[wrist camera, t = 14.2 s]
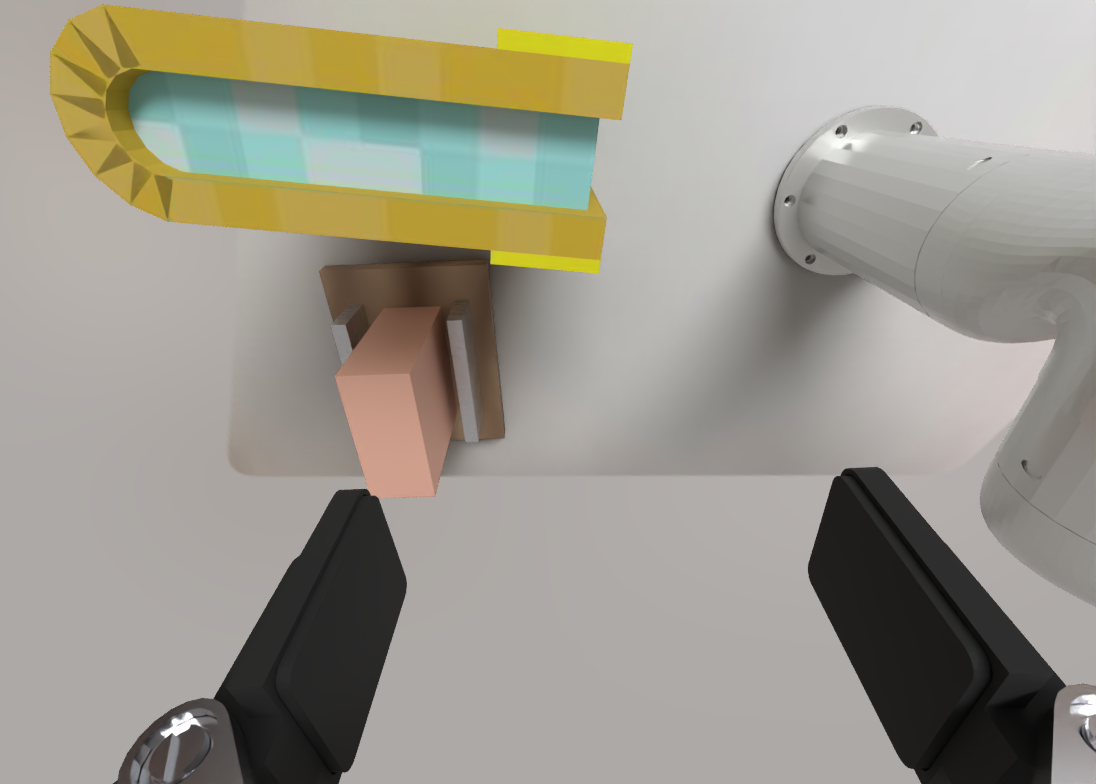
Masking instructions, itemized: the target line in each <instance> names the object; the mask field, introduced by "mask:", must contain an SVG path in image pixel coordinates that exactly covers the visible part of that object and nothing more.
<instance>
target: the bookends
mask: <svg viewBox="0 0 1096 784" xmlns="http://www.w3.org/2000/svg"><path fill="white" fill-rule="evenodd" d="M330 326H331V330H332V333H333V336H334V340H335V343H336V347H337V350H338V354H339V357H340V360H341V364H342V365H343V364H344V363H345V361H346V360H347V358H348V357H349V356H350V354H351V353H352V351H353V350H354V349H355V347H356V346H357V345H358V343H359V342H360V340H361V339H362V338H363V336H364V335H365V334H366V332H367V331H368V329H369V326H368V322H367V318H366V314H365V310H364V306H363V304H349V305H348V306H347V307H346V309H345V310H344V311H343V312H342V313H341V314H340V315H339V316H338V317H337V319H336V320H335V321H334V322H333V323H332V324H331V325H330ZM447 328H448V334H449V340H450V347H451V353H452V359H453V366H454V372H455V379H456V385H457V391H458V398H459V404H460V411H461V417H462V423H463V430H464V436H465V442H479V437H480V431H481V426H482V420H483V407H482V399H481V391H480V383H479V375H478V368H477V360H476V352H475V344H474V336H473V328H472V321H471V313H470V305H469V300H455V301H454V304H453V306H452V309H451V311H450V314H449V316H448V318H447Z"/></svg>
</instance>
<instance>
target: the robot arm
mask: <svg viewBox="0 0 1096 784" xmlns="http://www.w3.org/2000/svg"><path fill="white" fill-rule="evenodd" d="M837 128H838V132H837V133H836V134H835V131H836V129H837ZM910 128H911V129H910ZM786 197H788V200H787V201H786V202H784V201H785V199H786ZM774 223H775V230H776V234H777V237H778V239H779V242H780V245H781V246H782V248H783V249H784V250H785V252H786V253H787V255H788V256H789V257H791V258H792V259H793V260H794V261H795V262H796V263H798V264H799V265H801V266H802V267H804V268H805V269H808V270H810V271H813V272H815V273H818V274H825V275H846V274H851V273H855V274H856V275H858V276H860V277H862V278H863V279H865V280H867V281H868V282H870V283H872V284H873V285H875V286H877V287H879V288H880V289H882V290H884V291H885V292H887V293H889V294H891V295H892V296H894V297H896V298H897V299H899V300H901V301H903V302H904V303H906V304H908V305H909V306H911V307H913V308H914V309H916V310H918V311H920V312H921V313H923V314H925V315H926V316H928V317H930V318H932V319H933V320H935V321H937V322H939V323H941V324H943V325H944V326H946V327H948V328H950V329H951V330H953V331H955V332H958V333H960V334H962V335H964V336H967V337H970V338H974V339H977V340H982V341H987V342H996V343H1026V342H1037V341H1044V340H1050V339H1056V340H1055V344H1054V346H1053V349H1052V351H1051V352H1050V354H1049V356H1048V358H1047V360H1046V362H1045V364H1044V366H1043V368H1042V369H1041V371H1040V373H1039V376H1038V380H1037V382H1036V384H1035V385H1034V387H1033V389H1032V391H1031V392H1030V394H1029V396H1028V398H1027V399H1026V401H1025V403H1024V405H1023V406H1022V408H1021V410H1020V412H1019V413H1018V415H1017V417H1016V419H1015V421H1014V422H1013V424H1012V426H1011V427H1010V429H1009V431H1008V433H1007V435H1006V436H1005V438H1004V440H1003V442H1002V443H1001V445H1000V447H999V450H998V452H997V454H996V455H995V457H994V459H993V461H992V463H991V465H990V467H989V469H988V471H987V473H986V475H985V477H984V480H983V484H982V488H981V493H980V505H981V511H982V515H983V517H984V520H985V522H986V524H987V526H988V528H989V529H990V531H991V532H992V533H993V535H994V536H995V537H996V539H997V540H998V541H999V542H1000V543H1001V544H1002V546H1003V547H1004V548H1005V549H1006V550H1008V551H1009V552H1010V553H1011V554H1012V555H1013V556H1014V557H1015V558H1017V559H1018V560H1019V561H1020V562H1022V563H1023V564H1024V565H1026V566H1027V567H1028V568H1030V569H1031V570H1032V571H1034V572H1035V573H1037V574H1038V575H1040V576H1041V577H1043V578H1045V579H1046V580H1048V581H1049V582H1051V583H1053V584H1054V585H1056V586H1057V587H1059V588H1061V589H1063V590H1065V591H1067V592H1069V593H1070V594H1072V595H1074V596H1076V597H1078V598H1080V599H1082V600H1083V601H1085V602H1087V603H1089V604H1091V605H1093V606H1095V607H1096V154H1087V153H1077V152H1068V151H1056V150H1047V149H1039V148H1030V147H1022V146H1013V145H1005V144H996V143H987V142H979V141H970V140H962V139H953V138H945V137H939V136H938V134H937V132H936V130H935V129H934V128H933V126H932V125H931V124H930V123H929V122H928V121H927V120H926V119H925V118H923V117H922V116H920V115H919V114H917V113H916V112H914V111H911V110H908V109H905V108H902V107H894V106H871V107H866V108H862V109H858V110H854V111H851V112H849V113H847V114H845V115H842V116H840V117H838V118H836V119H834V120H833V121H831V122H830V123H828V124H827V125H825V126H824V127H822V128H821V129H820V130H819V131H817V132H816V133H815V134H814V135H813V136H812V137H811V138H810V139H809V140H807V141H806V143H805V144H804V145H803V146H802V147H801V149H800V150H799V151H798V152H797V153H796V155H795V156H794V157H793V159H792V161H791V162H790V164H789V166H788V167H787V169H786V171H785V173H784V175H783V177H782V180H781V182H780V185H779V187H778V191H777V195H776V199H775V205H774ZM807 256H808V257H807ZM806 257H807V258H806ZM808 574H809V579H810V582H811V584H812V586H813V588H814V590H815V592H816V594H817V596H818V598H819V600H820V602H821V604H822V606H823V608H824V610H825V612H826V614H827V616H828V618H829V620H830V622H831V624H832V626H833V628H834V630H835V632H836V634H837V636H838V638H839V640H840V642H841V643H842V646H843V647H844V649H845V651H846V653H847V655H848V657H849V659H850V661H851V663H852V665H853V667H854V669H855V671H856V673H857V675H858V677H859V679H860V681H861V683H862V685H863V687H864V689H865V691H866V693H867V695H868V697H869V699H870V701H871V703H872V705H873V707H874V709H875V711H876V713H877V715H878V717H879V719H880V721H881V723H882V725H883V727H884V729H885V731H886V733H887V735H888V736H889V739H890V741H891V742H892V744H893V747H894V749H895V750H896V753H897V754H898V756H899V758H900V759H901V761H902V762H903V763H904V765H905V766H907V767H908V768H911V769H914V770H915V772H916V774H917V776H918V778H919V780H920V782H921V784H1096V686H1094V685H1089V684H1076V685H1068V686H1066V685H1065V684H1064V683H1063V681H1062V680H1061V679H1060V678H1059V677H1058V676H1057V674H1056V673H1055V672H1054V671H1053V670H1052V668H1051V667H1050V666H1049V665H1048V664H1047V663H1046V661H1044V659H1043V658H1042V657H1041V656H1040V654H1039V653H1038V652H1037V651H1036V650H1035V648H1034V647H1033V646H1032V645H1031V644H1030V643H1029V641H1028V640H1027V639H1026V638H1025V637H1024V635H1023V634H1022V633H1021V632H1020V631H1019V629H1018V628H1017V627H1016V626H1015V625H1014V624H1013V622H1012V621H1011V620H1010V619H1009V618H1008V616H1007V615H1006V614H1005V613H1004V612H1003V611H1002V609H1001V608H1000V607H999V606H998V605H997V603H996V602H995V601H994V600H993V599H992V598H991V596H990V595H989V594H988V593H987V592H986V590H985V589H984V588H983V587H982V586H981V584H980V583H979V582H978V581H977V580H976V579H975V577H974V576H973V575H972V574H971V573H970V572H969V570H968V569H967V568H966V567H965V566H964V564H963V563H962V562H961V561H960V560H959V559H958V557H957V556H956V555H955V554H954V553H953V551H952V550H951V549H950V548H949V547H948V545H947V544H945V543H944V542H943V541H942V539H941V538H940V537H939V536H938V535H937V533H936V532H935V531H934V530H933V529H932V527H931V526H930V525H929V524H928V523H927V522H926V520H925V519H924V518H923V517H922V516H921V514H920V513H919V512H918V511H917V510H916V509H915V507H914V506H913V505H912V504H911V503H910V502H909V500H908V499H907V498H906V497H905V495H904V494H903V493H902V492H901V491H900V490H899V488H898V487H897V486H896V485H895V484H894V482H893V481H892V480H891V479H890V478H889V477H888V475H887V474H886V473H885V472H884V471H883V470H882V469H880V468H878V467H867V468H848V469H845V470H844V471H843V472H842V474H841V476H836V477H835V478H834V480H833V482H832V486H831V489H830V492H829V496H828V499H827V503H826V506H825V510H824V513H823V516H822V520H821V523H820V526H819V530H818V533H817V537H816V540H815V544H814V547H813V550H812V554H811V557H810V561H809V564H808ZM406 587H407V582H406V576H405V573H404V571H403V568H402V565H401V562H400V559H399V556H398V553H397V550H396V547H395V545H394V542H393V539H392V536H391V533H390V530H389V527H388V524H387V522H386V519H385V516H384V513H383V510H382V507H381V504H380V502H379V499H378V497H377V496H371V494H370V492H369V491H368V490H367V489H353V490H339V491H337V492H336V493H335V495H334V496H333V498H332V500H331V501H330V503H329V505H328V507H327V508H326V510H325V512H324V514H323V516H322V517H321V519H320V521H319V523H318V524H317V526H316V528H315V530H314V532H313V533H312V535H311V537H310V539H309V540H308V542H307V544H306V546H305V548H304V549H303V551H302V553H301V555H300V556H299V557H297V558H296V559H295V560H294V561H293V562H292V563H291V565H290V566H289V568H288V569H287V572H286V573H285V575H284V576H283V578H282V580H281V582H280V583H279V585H278V587H277V589H276V590H275V592H274V594H273V596H272V597H271V599H270V601H269V603H268V604H267V606H266V608H265V610H264V611H263V613H262V615H261V617H260V618H259V620H258V622H257V624H256V626H255V627H254V629H253V631H252V632H251V634H250V636H249V638H248V639H247V641H246V643H245V645H244V646H243V648H242V650H241V652H240V653H239V655H238V657H237V659H236V660H235V662H234V664H233V666H232V668H231V669H230V671H229V673H228V674H227V676H226V678H225V680H224V682H223V683H222V685H221V687H220V688H219V690H218V692H217V693H216V695H215V697H214V699H208V698H200V699H196V700H192V701H188V702H185V703H183V704H181V705H179V706H177V707H175V708H173V709H171V710H170V711H168V712H167V713H165V714H164V715H163V716H161V717H160V718H158V719H157V720H156V721H154V722H153V723H152V724H151V725H150V726H149V727H148V728H147V729H146V730H145V731H144V732H143V733H142V734H141V735H140V736H139V738H138V739H137V741H136V742H135V743H134V745H133V746H132V748H131V749H130V750H129V752H128V753H127V755H126V757H125V759H124V761H123V763H122V766H121V768H120V770H119V775H118V780H117V781H116V782H115V783H113V784H339V780H340V777H341V774H342V772H347V771H348V770H349V769H350V768H351V766H352V764H353V762H354V759H355V756H356V753H357V750H358V746H359V743H360V740H361V737H362V733H363V730H364V727H365V724H366V720H367V717H368V714H369V711H370V708H371V704H372V701H373V698H374V695H375V691H376V688H377V685H378V682H379V678H380V675H381V672H382V669H383V666H384V662H385V659H386V656H387V653H388V650H389V646H390V643H391V640H392V637H393V633H394V630H395V627H396V624H397V621H398V617H399V614H400V610H401V608H402V604H403V601H404V598H405V594H406Z"/></svg>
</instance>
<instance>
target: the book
mask: <svg viewBox="0 0 1096 784" xmlns="http://www.w3.org/2000/svg"><path fill="white" fill-rule="evenodd" d="M632 46H633V44H631V43H622V42H614V41H605V40H596V39H588V38H579V37H570V36H562V35H553V34H544V33H536V32H527V31H518V30H509V29H501V28H498V42H497V49H494V48H485V47H476V46H467V45H458V44H449V43H441V42H432V41H423V40H414V39H405V38H396V37H387V36H379V35H370V34H361V33H352V32H343V31H334V30H325V29H317V28H308V27H299V26H290V25H281V24H272V23H263V22H255V21H246V20H237V19H228V18H219V17H210V16H201V15H193V14H183V13H174V12H166V11H157V10H147V9H139V8H131V7H121V6H113V5H100V6H98V7H96V8H94V9H92V10H89V11H87V12H85V13H83V14H81V15H78V16H76V17H74V18H72V19H69V20H68V22H67V24H66V25H65V27H64V29H63V31H62V32H61V34H60V36H59V38H58V40H57V41H56V43H55V45H54V47H53V48H52V50H51V52H50V53H51V54H50V55H51V56H50V60H51V61H50V94H51V97H52V100H53V102H54V105H55V108H56V110H57V113H58V116H59V119H60V121H61V124H62V126H63V129H64V132H65V135H66V137H67V139H68V140H69V141H70V143H71V144H72V145H73V147H74V148H75V150H76V151H77V152H78V154H79V155H80V156H81V158H82V159H83V160H84V162H85V163H86V165H87V166H88V167H89V168H90V170H91V171H92V173H93V174H94V175H95V176H96V177H97V178H98V179H99V180H101V181H102V182H103V183H104V184H106V185H107V186H108V187H109V188H110V189H111V190H113V191H114V192H115V193H117V194H118V195H119V196H120V197H121V198H122V199H124V200H125V201H126V202H127V203H129V204H130V205H132V206H134V207H136V208H138V209H141V210H143V211H145V212H147V213H150V214H152V215H154V216H157V217H159V218H161V219H163V220H165V221H168V222H178V223H190V224H201V225H212V226H223V227H234V228H246V229H257V230H268V231H279V232H290V233H302V234H313V235H324V236H335V237H347V238H358V239H369V240H380V241H391V242H403V243H414V244H425V245H436V246H448V247H459V248H470V249H481V250H491V260H490V264H496V265H507V266H519V267H530V268H542V269H553V270H564V271H576V272H587V273H599V267H600V260H601V253H602V246H603V240H604V233H605V226H606V220H607V217H606V215H605V213H604V211H603V209H602V207H601V205H600V204H599V202H598V200H597V198H596V196H595V194H594V192H593V190H592V188H591V180H592V172H593V164H594V156H595V149H596V141H597V133H598V125H599V118H605V119H614V120H621V119H622V112H623V106H624V99H625V92H626V86H627V79H628V72H629V65H630V59H631V53H632Z"/></svg>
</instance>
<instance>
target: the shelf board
mask: <svg viewBox="0 0 1096 784" xmlns="http://www.w3.org/2000/svg"><path fill="white" fill-rule="evenodd" d="M319 273H320V277H321V280H322V284H323V287H324V291H325V294H326V298H327V301H328V305H329V308H330V312H331V315H332V319H333V322H334V321H335V320H336V319H337V317H338V316H339V315H340V314H341V313H342V312H343V311H344V310H345V309H346V307H347V306H348V305H349V304H363V306H364V310H365V314H366V318H367V322H368V326H369V328H370V327H371V325H372V324H373V322H374V321H375V320H376V318H377V317H378V316H379V314H380V313H381V311H382V310H383V309H384V308H405V307H432V306H441V310H442V316H443V322H444V329H445V335H446V342H447V348H448V354H449V361H450V367H451V373H452V380H453V386H454V393H455V399H456V405H457V415H456V418H455V422H454V426H453V430H452V434H451V438H450V440H465V436H464V430H463V423H462V417H461V411H460V404H459V398H458V391H457V385H456V379H455V372H454V366H453V359H452V353H451V347H450V340H449V334H448V328H447V318H448V316H449V314H450V311H451V309H452V306H453V304H454V301H455V300H469V305H470V313H471V321H472V328H473V336H474V344H475V352H476V360H477V368H478V375H479V383H480V391H481V399H482V407H483V420H482V426H481V431H480V437H479V439H491V438H504V435H505V424H504V414H503V404H502V395H501V385H500V375H499V365H498V356H497V346H496V336H495V326H494V316H493V307H492V297H491V287H490V277H489V267H488V259H483V260H458V261H434V262H409V263H385V264H360V265H336V266H325V267H324V268H322V269H321V270H320V271H319Z"/></svg>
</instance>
